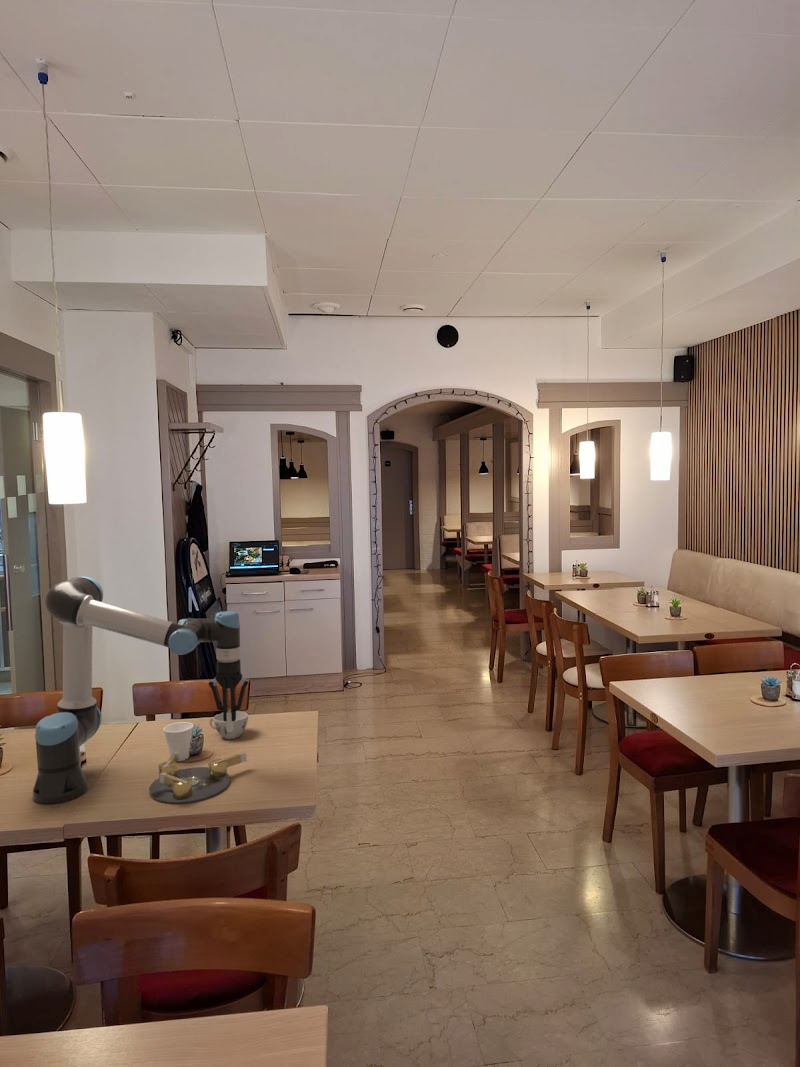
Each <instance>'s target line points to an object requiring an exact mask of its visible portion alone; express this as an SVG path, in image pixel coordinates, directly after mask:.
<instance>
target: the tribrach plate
mask: <svg viewBox="0 0 800 1067" xmlns="http://www.w3.org/2000/svg"><path fill="white" fill-rule="evenodd" d="M177 771H178V777H177V778H189V779H191V780H192V795H191V796H190V797H188V798H185V799H175V798H173V793H172V787H171V786H168V785H166V784H163V783H160V779H159V777H158V778H156V779H155V780H154V781H153V782H152V783H151V784H150V785H149V789H148V792H149V793H148V794H149V796H150V798H152V799H153V800H154V801H156V802H160V803H164V804H170V805H175V804H179V805H180V804H182V805H184V804H190V803H196V802H200V801H204V800H208V799H210V798H214V797H215V796H217V795H219V794H221V793H223V792H224V791H225V790H226V789H227V788H229V785H230V783H231V782H230V775H229V773H227V775H226V776H225V777H222V778H218V779H213V778H210V777H209V766H207V767H206V766H197V767H196V766H195V767H189V768H183V769H177Z"/></svg>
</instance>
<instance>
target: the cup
mask: <svg viewBox="0 0 800 1067" xmlns="http://www.w3.org/2000/svg"><path fill="white" fill-rule="evenodd" d="M193 729H194V724H193V723H192V722H188V721H178V722H173V723H170V724H166V726H164V727H163V729H162V730H163V732H164V736H165V740H166V745H167V748H168V749H167V750H168V752H169V758H170V757H171V755H172V754H173V752H176V751H179V760H178V761H177V762H182V761H186V760H187V759H188V758H189V757H190V754H189V748H190V749H191V745H190V741H191V742H192V738H193ZM185 759H186V760H185Z"/></svg>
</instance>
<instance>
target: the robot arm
mask: <svg viewBox="0 0 800 1067" xmlns="http://www.w3.org/2000/svg"><path fill="white" fill-rule="evenodd" d="M101 586H102V585H100V583H98V581H97V580H95V579H93V578H92V577H88V576H75V577H72V578H70V579H68V580H65V581H62V582H58V583H56V584H54V585H53V586H52V587H51V588H49V590H48V591H47V592H46V595H45V599H44V603H45V608H46V610H47V612H48V614H50V615H51V616H52V617H53V618H55V619H56V620H58V621H57V622H59V623H60V624H61V625H62V626H63V627H62V698H61V699H60V700H59V701H58V702H57V704H56V705H57V709H56V711H57V712H56V713H52V714H50V715H47V716H44V717H43V718H41V719H40V720H39V721H38V722H37V724H36V725H35V734H34V739H35V746H36V747H35V748H36V759H37V760H36V761H37V775H36V778H35V781H34V782H35V783H34V786H33V789H32V798H33V799H32V800H33V801H34V802H36V803H39V804H45V805H50V804H51V805H52V804H58V803H64V802H68V801H71V800H74V799H76V798H78V797H80V796H82V795H83V794H85V793H86V792H87V790H88V788H89V787H88V786H89V785H88V779H87V777H86V774H85V773H84V770H83V769H82V768H83V767H82V766H81V760H80V759H81V758H80V747H81V746H82V745H84V744H85V743H87V741H88V740H90V739H91V738H93V736H95V734H96V733H97V731H98V730H99V728H100V727H101V724H102V719H103V718H102V713H101V710H100V708H98V706H97V704H98V703H97V701H98V700H97V699H96V698H95V697H93V694H92V693H93V691H92V690H93V687H92V686H93V684H92V683H93V627H95V628H99V629H102V630H106V631H109V632H112V633H116V634H119V635H124V636H127V637H131V638H133V639H137V640H141V641H145V642H149V643H152V644H155V645H158V646H161V647H166V648H169V650H170V651H171V652H173V653H174V654H175V655H180V656H181V655H182V656H183V655H187V654H188V653H190V652H192V651H194V650H195V649H196V647H197V646H198V645H200V644H201V643H215V645H216V647H215V648H216V649H215V654H216V657H215V658H216V660H217V661H216V675H215V677H214V679H210V680H209V682H208V686H209V687H210V688H211V690H212V691H211V692H212V695H213V698H214V702H215V705H216V709H217V711H222V713H223V720H224V721H227V732H232V730H233V721H235V720H236V711H241V708H242V706H243V702H244V698H245V697H244V696H245V693H246V688H247V686H248V684H249V683H250V679H248V678H247V679H246V678H244V677H243V674H242V672H241V671H242V670H241V659H240V658H241V642H240V641H241V624H240V615H239V613H238V612H237V611H232V610H231V611H229V610H226V611H225V610H224V611H219V612H216V613H215V615H214V616H215V617H213V618H193V617H188V618H182V619H180V620H178V622H177V623H175V622H173V621H170V620H166V619H162V618H158V617H155V616H153V615H148V614H145V613H141V612H138V611H134V610H131V609H127V608H125V607H120V606H116V605H113V604H111V603H107V602H103V599H104V591H103V590H104V589H103V588H102V587H101ZM239 683H240V685H241V688H240V691H239V694H238V700H237V698H236V697H237V695H236V694H237V687H238V685H239ZM218 684H219V686H220V687H221V688H222V689H221V692H222V699H221V695H220V693H219V689H218ZM229 690H230V709H229Z"/></svg>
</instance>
